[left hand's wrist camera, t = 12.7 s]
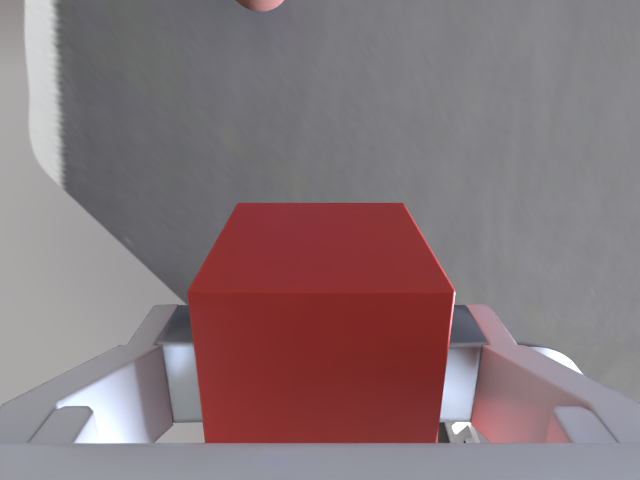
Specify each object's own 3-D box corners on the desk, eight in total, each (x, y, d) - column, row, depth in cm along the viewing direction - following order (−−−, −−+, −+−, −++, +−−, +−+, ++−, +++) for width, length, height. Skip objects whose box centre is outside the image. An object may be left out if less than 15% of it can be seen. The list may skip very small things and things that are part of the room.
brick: (403, 202, 12) (456, 290, 7) (393, 351, 13) (431, 498, 9) (237, 202, 12) (185, 291, 7) (247, 351, 13) (210, 499, 9)
